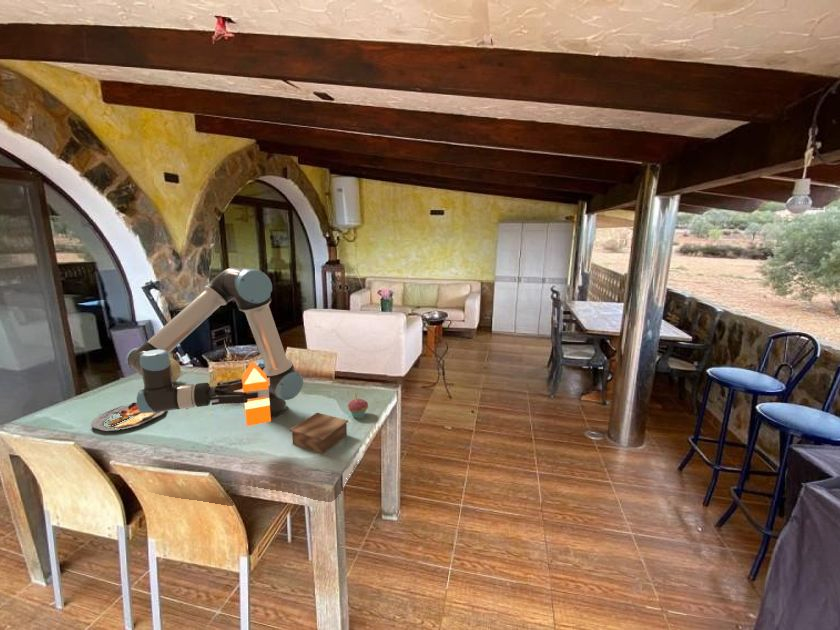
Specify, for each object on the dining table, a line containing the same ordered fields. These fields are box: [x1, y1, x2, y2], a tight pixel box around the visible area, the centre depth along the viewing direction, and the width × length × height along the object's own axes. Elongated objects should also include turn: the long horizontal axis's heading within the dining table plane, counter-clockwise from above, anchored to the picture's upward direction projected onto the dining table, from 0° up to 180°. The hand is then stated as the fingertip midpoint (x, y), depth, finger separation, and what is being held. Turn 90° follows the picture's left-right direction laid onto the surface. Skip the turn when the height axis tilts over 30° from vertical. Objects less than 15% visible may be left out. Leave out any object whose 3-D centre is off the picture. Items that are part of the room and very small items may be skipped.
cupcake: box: [347, 391, 369, 419], centre depth 162 cm, size 9×8×12 cm
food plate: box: [90, 402, 166, 432], centre depth 159 cm, size 25×23×4 cm
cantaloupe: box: [169, 357, 182, 384], centre depth 192 cm, size 15×15×15 cm
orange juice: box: [241, 359, 272, 427], centre depth 131 cm, size 8×9×20 cm
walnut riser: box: [289, 412, 349, 454], centre depth 144 cm, size 15×15×6 cm
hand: (269, 386), depth 132 cm, fingers closed on orange juice, 9 cm apart
